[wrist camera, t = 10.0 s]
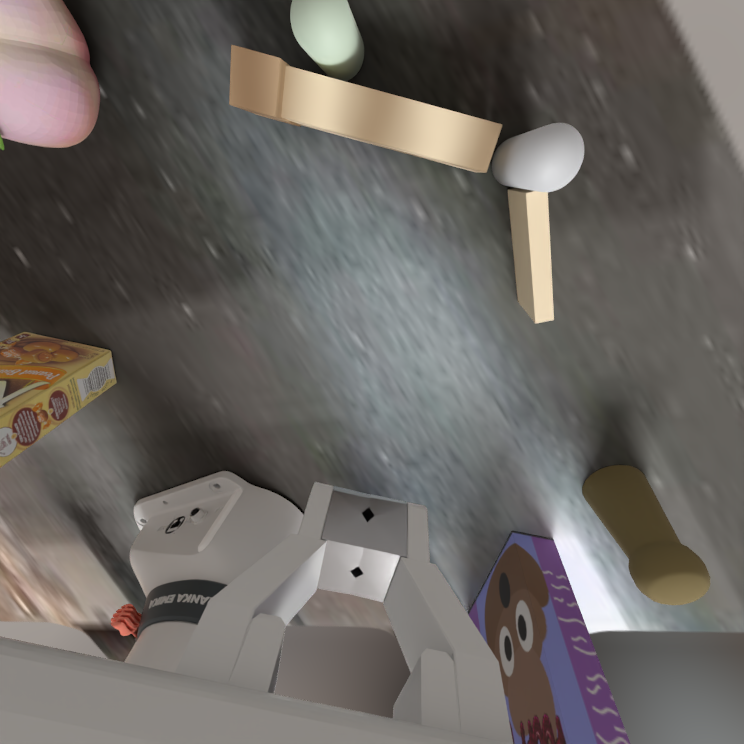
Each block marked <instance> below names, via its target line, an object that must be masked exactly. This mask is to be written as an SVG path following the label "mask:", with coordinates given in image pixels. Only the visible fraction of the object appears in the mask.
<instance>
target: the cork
mask: <svg viewBox="0 0 744 744" xmlns="http://www.w3.org/2000/svg"><path fill="white" fill-rule="evenodd" d="M582 494H583V496H584V498H585V500H586V501H587V502H588V504H589V505H590V506H591V508H592V509H593V510H594V512H595V513H596V515H597V516H598V517H599V519H600V520H601V521H602V523H603V524H604V526H605V527H606V528H607V530H608V531H609V532H610V534H611V535H612V536H613V538H614V539H615V541H616V542H617V543H618V545H619V546H620V547H621V549H622V550H623V551H624V553H625V554H626V556H627V557H628V558H629V571H630V574H631V576H632V578H633V580H634V582H635V584H636V586H637V587H638V589H639V590H640V591H641V592H642V593H643V594H645V595H646V596H647V597H649V598H650V599H652V600H653V601H655V602H658V603H661V604H668V605H682V604H687V603H691V602H693V601H696V600H698V599H699V598H701V597H702V596H703V595H705V593H706V592H707V591H708V590H709V587H710V576H709V573H708V571H707V568H706V566H705V564H704V563H703V561H702V560H701V559H700V557H699V556H697V555H696V554H695V553H694V552H693V551H692V550H690V549H689V548H688V547H687V546H684V545H682V544H681V543H680V541H679V539H678V537H677V535H676V534H675V532H674V530H673V528H672V526H671V524H670V522H669V520H668V519H667V517H666V515H665V513H664V511H663V509H662V507H661V505H660V503H659V502H658V500H657V498H656V496H655V494H654V492H653V490H652V488H651V486H650V485H649V483H648V481H647V479H646V477H645V475H644V474H643V473H642V472H641V471H640V470H639V469H637V468H634V467H632V466H627V465H613V466H608V467H605V468H602V469H599V470H598V471H596V472H594V473H593V474H591V475H590V476H589V477H588V478H587V479H586V480H585V483H584V485H583V487H582Z"/></svg>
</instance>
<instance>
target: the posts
mask: <svg viewBox="0 0 744 744" xmlns="http://www.w3.org/2000/svg"><path fill="white" fill-rule="evenodd" d="M290 20H291V26H292V30H293V33H294V36H295V38H296V40H297V42H298V43H299V45H300V46H301V47H302V48H303V49H304V50H305V51H306V53H307V54H308V55H309V56H310V57H311V58H312V59H313V60H314V61H315V62H316V63H317V65H318V66H319V67H320V68H321V69H322V70H323V71H324V72H325V73H326V74H327V75H328V76H329V77H331V78H334V79H338V80H342V81H347V80H350V79H351V78H353V77H354V76H355V75H356V74H357V73H358V72H359V70H360V68H361V66H362V63H363V60H364V43H363V40H362V37H361V34H360V32H359V29H358V27H357V24H356V22H355V19H354V17H353V14H352V12H351V9H350V7H349V4H348V2H347V0H292V3H291V10H290ZM583 157H584V143H583V139H582V137H581V135H580V133H579V132H578V131H577V130H576V129H575V128H574V127H572V126H571V125H568V124H565V123H553V124H549V125H547V126H544V127H541V128H538V129H535V130H532V131H529V132H526V133H523V134H520V135H517V136H514V137H512V138H509V139H507V140H505V141H504V142H503V143H502V144H501V145H500V146H499V147H498V148H497V150H496V151H495V153H494V156H493V159H492V172H493V175H494V177H495V179H496V180H497V181H498V182H499V183H500V184H502V185H504V186H509V187H515V188H512V189H508V201H509V212H510V223H511V233H512V244H513V255H514V266H515V276H516V287H517V298H518V302H519V304H520V305H521V306H522V307H523V309H524V310H525V311H526V312H527V314H528V315H529V316H530V317H531V319H532V320H533V321H534V322H535V324H536V323H541V322H546V321H551V320H554V312H553V291H552V271H551V251H550V230H549V210H548V192H552V191H555V190H558V189H560V188H562V187H564V186H565V185H566V184H568V183H569V182H570V181H571V180H572V179H573V178H574V177H575V175H576V174H577V172H578V171H579V169H580V167H581V164H582V161H583Z"/></svg>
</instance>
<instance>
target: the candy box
mask: <svg viewBox="0 0 744 744" xmlns="http://www.w3.org/2000/svg"><path fill="white" fill-rule="evenodd" d="M116 383H117V381H116V375H115V370H114V365H113V360H112V354H111V351H110V350H107V349H102V348H98V347H93V346H89V345H84V344H80V343H76V342H70V341H66V340H61V339H56V338H52V337H47V336H42V335H37V334H34V333H30V332H23V333H20V334H18V335H16V336H13V337H11V338H8V339H6V340H4V341H2V342H0V468H1V467H2V466H3V465H5V464H6V463H7V462H9V461H10V460H12V459H13V458H14V457H16V456H17V455H18V454H20V453H21V452H23V451H24V450H25V449H27V448H28V447H30V446H31V445H32V444H34V443H35V442H36V441H38V440H39V439H40V438H42V437H43V436H44V435H46V434H47V433H49V432H50V431H52V430H53V429H54V428H56V427H57V426H58V425H60V424H61V423H62V422H64V421H65V420H66V419H68V418H69V417H71V416H72V415H73V414H75V413H76V412H77V411H79V410H80V409H82V408H83V407H84V406H86V405H87V404H88V403H90V402H91V401H93V400H94V399H95V398H97V397H98V396H99V395H101V394H102V393H103V392H105V391H106V390H108V389H109V388H110V387H112V386H113V385H114V384H116Z"/></svg>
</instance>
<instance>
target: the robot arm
mask: <svg viewBox="0 0 744 744" xmlns="http://www.w3.org/2000/svg"><path fill="white" fill-rule="evenodd" d="M333 487H334V489H333ZM134 516H135V520H136V523H137V525H138V527H139V529H140V533H139V534H138V536H137V537H136V539H135V541H134V542H133V544H132V547H131V550H130V562H131V566H132V568H133V570H134V572H135V575H136V577H137V579H138V581H139V583H140V585H141V587H142V589H143V591H144V593H145V595H146V597H147V598H146V602H145V605H144V609H143V612H142V615H141V614H140V613H137V611H136V609H135V607H134V606H133V605H132V604H126V605H124V606H122V607H121V608H122V609H118V610H117V611H116V612H117V613H115V614H114V615H113V617H114V618H111V621H112V623H111V625H112V626H113V627H114V628H116V629H118V630H119V631H120V634H121V635H123V636H126V635H129V634H131V633H132V634H133V635H134V636H135V637H136V638H135V641H136V643H135V645H134V646H133V648H132V650H131V651H130V653H129V655H128V656H127V658H126V660H125V661H124V662H120V661H115V660H110V659H105V658H101V657H96V656H91V655H86V654H82V653H77V652H72V651H67V650H62V649H58V648H52V647H48V646H43V645H38V644H34V643H28V642H24V641H19V640H15V639H10V638H5V637H0V744H513V739H512V734H511V728H510V723H509V717H508V711H507V706H506V700H505V694H504V689H503V683H502V678H501V672H500V666H499V662H498V660H497V659H496V657H495V655H494V654H493V652H492V651H491V649H490V648H489V646H488V645H487V643H486V642H485V640H484V638H483V637H482V635H481V634H480V632H479V631H478V629H477V628H476V626H475V624H474V623H473V621H472V620H471V618H470V617H469V615H468V614H467V612H466V610H465V609H464V607H463V606H462V604H461V603H460V601H459V600H458V598H457V597H456V595H455V593H454V592H453V590H452V589H451V587H450V586H449V584H448V583H447V581H446V579H445V578H444V576H443V575H442V573H441V572H440V570H439V569H438V567H437V566H436V564H432V563H430V554H429V534H428V515H427V508H426V506H424V505H419V504H414V503H410V502H407V503H406V502H405V501H400V500H395V499H391V498H386V497H381V496H376V495H371V494H370V495H369V494H365V493H361V492H357V491H353V490H348V489H344V488H340V487H336V486H331V485H326V484H322V483H318V482H315V483H314V485H313V487H312V490H311V493H310V497H309V500H308V503H307V506H306V509H305V512H304V515H303V514H302V512H301V511H300V510H299V509H298V508H297V507H296V506H295V505H293V504H292V503H291V502H289V501H288V500H287V499H285V498H283V497H282V496H280V495H278V494H276V493H274V492H271V491H269V490H266V489H263V488H260V487H257V486H254V485H251V484H249V483H248V482H246V481H245V480H243V479H242V478H240V477H239V476H237V475H235V474H233V473H231V472H228V471H221V472H218V473H215V474H212V475H209V476H206V477H203V478H200V479H197V480H194V481H192V482H189V483H186V484H183V485H180V486H177V487H174V488H171V489H168V490H166V491H163V492H160V493H157V494H154V495H151V496H148V497H145V498H143V499H140V500H138V502H137V503H136V505H135V506H134ZM317 588H318V589H324V590H329V591H335V592H340V593H346V594H351V595H355V596H359V597H363V598H367V599H371V600H376V601H380V602H384V604H383V605H384V607H385V610H386V612H387V615H388V617H389V620H390V622H391V625H392V627H393V630H394V632H395V635H396V637H397V640H398V642H399V645H400V647H401V650H402V652H403V655H404V657H405V659H406V662H407V665H408V667H409V670H410V672H411V674H410V676H409V678H408V680H407V682H406V684H405V686H404V687H403V689H402V691H401V693H400V695H399V697H398V699H397V701H396V702H395V704H394V706H393V719H392V718H387V717H383V716H378V715H373V714H368V713H364V712H359V711H354V710H349V709H344V708H340V707H335V706H330V705H325V704H321V703H316V702H311V701H306V700H302V699H297V698H292V697H287V696H283V695H277V694H274V690H275V686H276V682H277V676H278V670H279V664H280V658H281V651H282V645H283V639H284V633H285V626H286V625H287V624H288V623H289V621H290V620H291V619H292V618H293V617H294V616H295V615H296V613H297V612H298V611H299V610H300V609H301V608H302V607H303V605H304V604H305V603H306V602H307V601H308V600H309V599H310V597H311V596H312V595H313V594H314V593H315V592H316V590H317Z"/></svg>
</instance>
